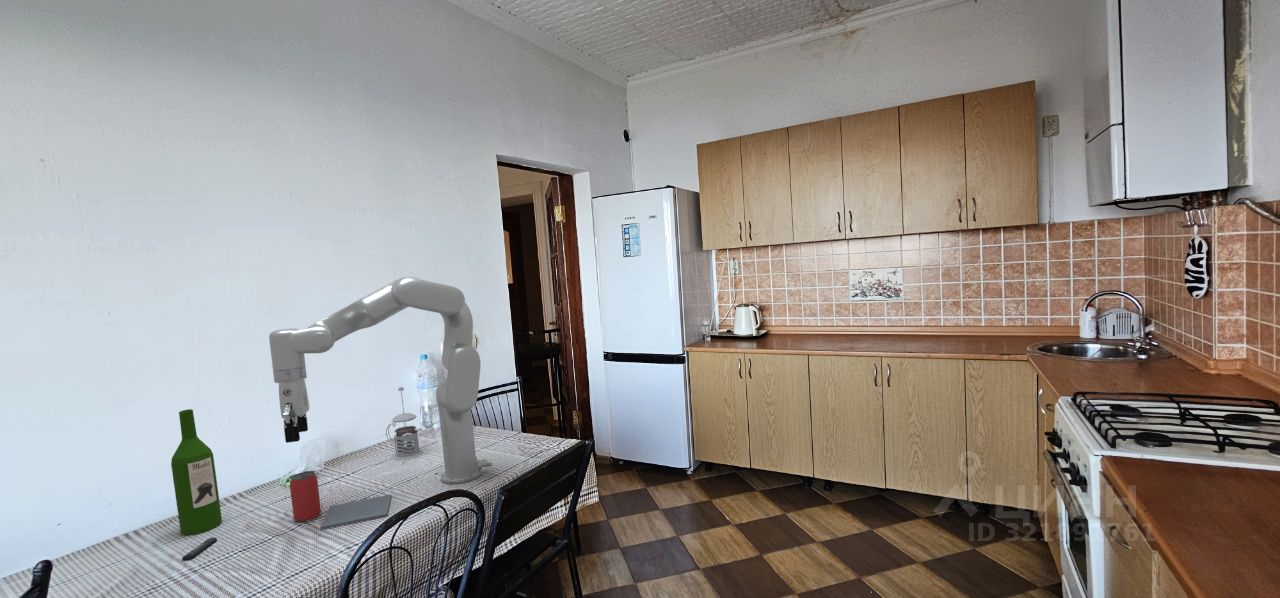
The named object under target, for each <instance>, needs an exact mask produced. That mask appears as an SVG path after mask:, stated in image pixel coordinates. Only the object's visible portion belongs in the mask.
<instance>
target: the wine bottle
mask: <svg viewBox="0 0 1280 598" xmlns="http://www.w3.org/2000/svg"><path fill="white" fill-rule="evenodd" d="M178 416H179V422H180V423H179V425H180V434H181V441H180V443H179V444H178V446H177V448H176V450H175V452H174V454H173V455H172V457H171V461H170V462H171V463H170V465H171V472H172V473H171V474H172V479H173V487H174V495H175V499H176V500H175V501H176V508H177V516H178V523H179V531H180V533H181V534H182V535H184V536H193V535H199V534H203V533H205V532H209V531H211V530H213V529H216V528H217V527H219V526H220V525H221V524H222V522H223V519H222V512H221V511H222V510H221V503H220V495H219V489H218V482H217V481H218V480H217V474H216V466H215V458H214V453H213V451H212V449H211V448H210V446H208V445H207V444H205V443H204V442H203V441H202V440H201V439H200V438H199V437H198V435H197V428H196V422H195V416H194V409H190V408H188V409H183V410H180V411H179V412H178Z"/></svg>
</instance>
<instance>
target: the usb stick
mask: <svg viewBox="0 0 1280 598" xmlns="http://www.w3.org/2000/svg"><path fill="white" fill-rule="evenodd" d="M217 541H218V539H217V537H213V536H212V537H209V538H207V539H206V540H204V541H203V542H201V543H200V544H199V545H197V546H196V547H194V548H193V549H191V550H190V551H189V552H187V553H185V555H183V556H182V558H181V559H182V561H183V562H185V561H187V562H188V561H191V560H194V559H195V558H196V557H198V556H200V554H202V553H203V552H204V551H206V550H207V549H209V548H210V547H212V546H213V545H214V544H215V543H217ZM212 544H213V545H212ZM208 547H209V548H208ZM201 552H202V553H201ZM197 555H198V556H197Z"/></svg>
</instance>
